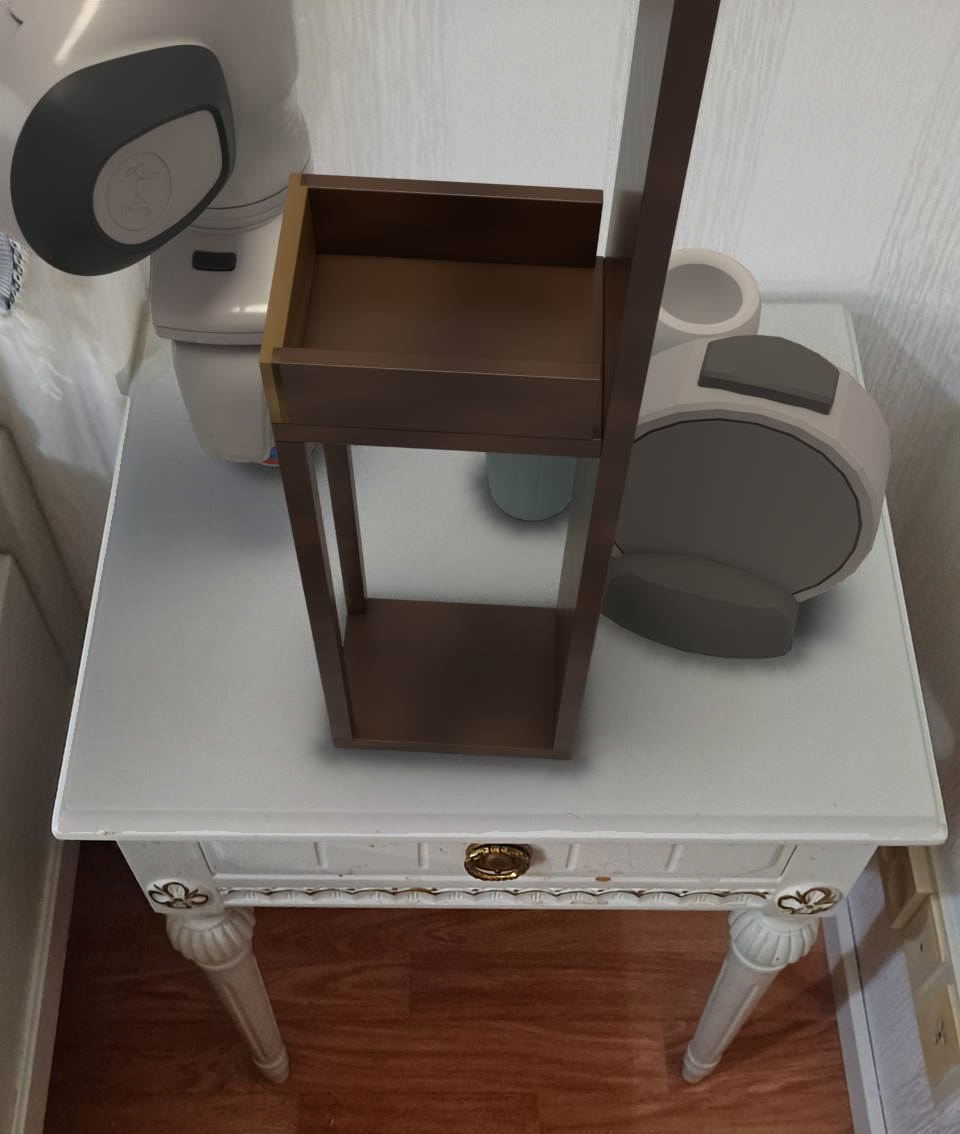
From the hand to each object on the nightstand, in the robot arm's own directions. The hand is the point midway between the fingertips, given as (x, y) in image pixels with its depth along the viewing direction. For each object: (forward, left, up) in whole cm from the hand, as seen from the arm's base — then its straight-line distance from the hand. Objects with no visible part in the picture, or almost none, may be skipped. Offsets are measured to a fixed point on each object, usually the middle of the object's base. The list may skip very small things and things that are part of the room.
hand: (271, 397), depth 74 cm
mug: (+27, +5, -4) cm, 28 cm away
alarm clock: (+28, -10, -4) cm, 30 cm away
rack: (+13, -18, -4) cm, 23 cm away
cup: (+17, -3, -4) cm, 18 cm away
